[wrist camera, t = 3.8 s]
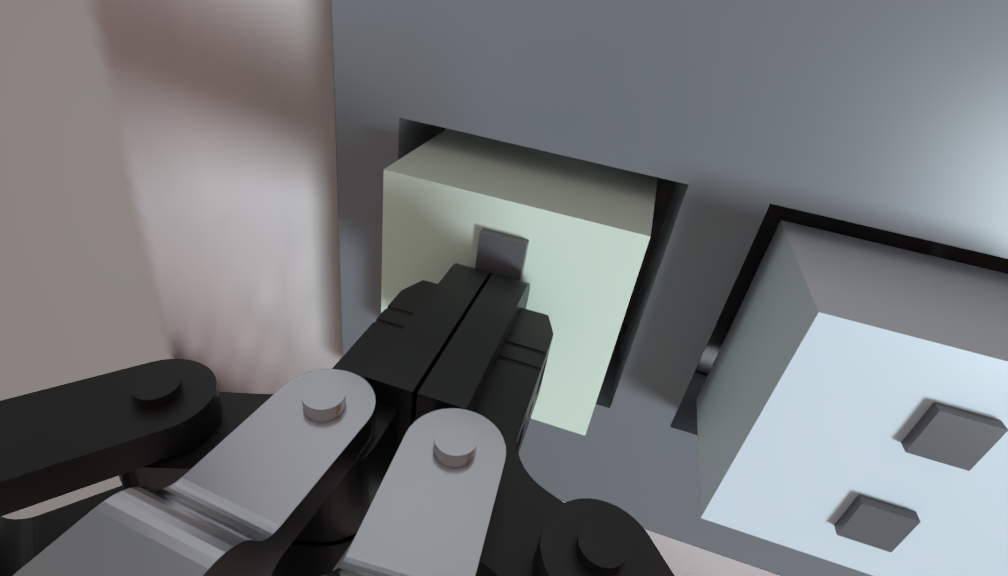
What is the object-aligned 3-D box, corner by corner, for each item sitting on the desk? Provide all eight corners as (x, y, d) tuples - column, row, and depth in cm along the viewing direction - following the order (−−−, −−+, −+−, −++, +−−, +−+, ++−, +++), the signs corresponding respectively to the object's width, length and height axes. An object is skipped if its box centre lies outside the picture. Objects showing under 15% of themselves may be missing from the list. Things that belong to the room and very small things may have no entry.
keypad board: (1995, 134, 7) (2526, 195, 5) (1162, 627, 15) (1241, 734, 13) (393, -114, 11) (327, -135, 9) (382, 376, 19) (345, 425, 17)
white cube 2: (1062, 286, 10) (1237, 429, 7) (910, 463, 12) (985, 623, 9) (781, 220, 10) (822, 319, 7) (696, 399, 13) (701, 526, 10)
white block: (658, 173, 12) (650, 241, 9) (604, 345, 15) (583, 442, 11) (451, 125, 13) (378, 172, 10) (436, 296, 15) (375, 375, 12)
